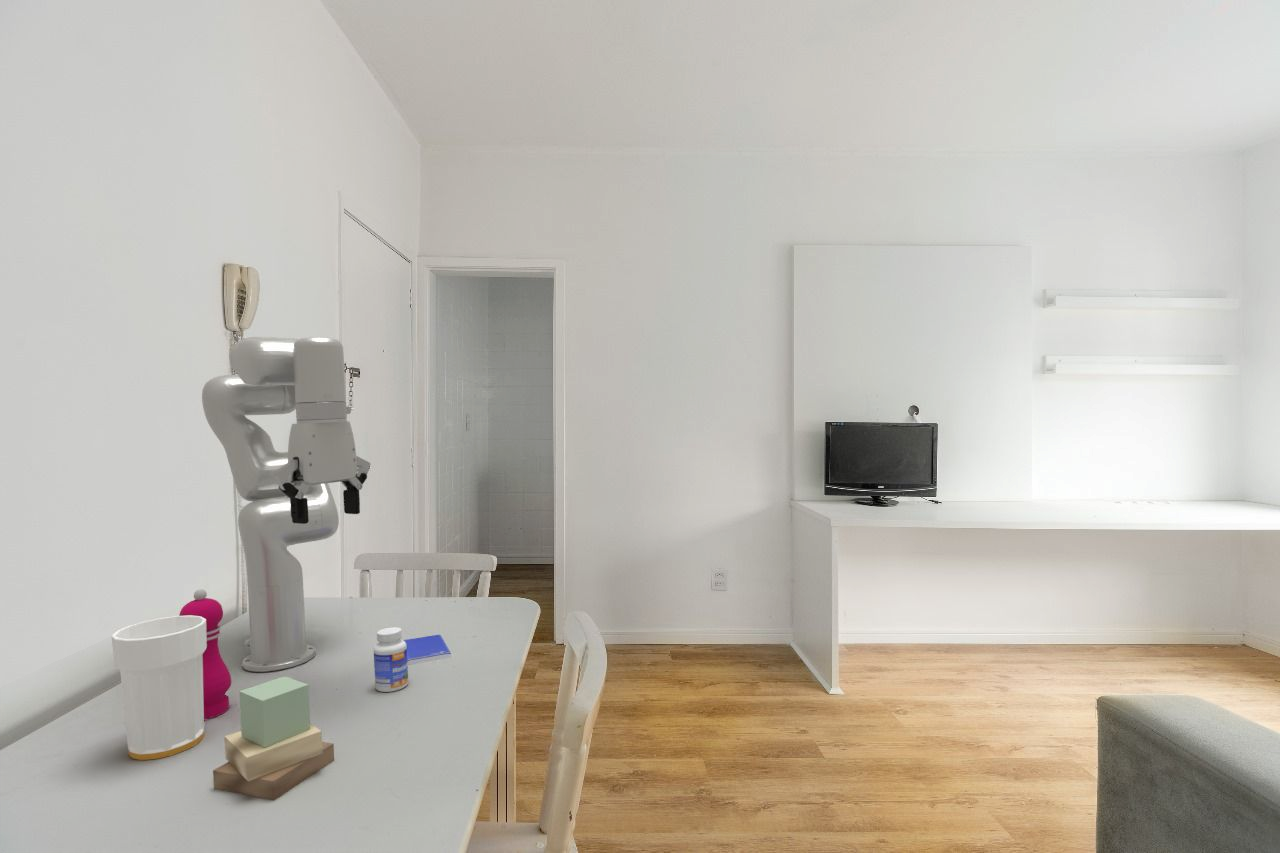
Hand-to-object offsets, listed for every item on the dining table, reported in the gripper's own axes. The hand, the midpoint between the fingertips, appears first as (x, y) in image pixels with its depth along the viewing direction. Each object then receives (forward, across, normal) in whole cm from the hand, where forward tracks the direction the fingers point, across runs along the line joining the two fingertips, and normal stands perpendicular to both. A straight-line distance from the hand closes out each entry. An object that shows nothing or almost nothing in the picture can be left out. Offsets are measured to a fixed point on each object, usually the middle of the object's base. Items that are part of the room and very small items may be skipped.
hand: (327, 518), depth 115 cm
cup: (+31, +21, -10) cm, 38 cm away
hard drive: (+31, -23, -4) cm, 39 cm away
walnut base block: (+31, +19, +13) cm, 39 cm away
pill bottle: (+31, -8, +4) cm, 32 cm away
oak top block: (+28, +19, +13) cm, 36 cm away
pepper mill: (+31, +12, -16) cm, 36 cm away
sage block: (+25, +19, +13) cm, 34 cm away
